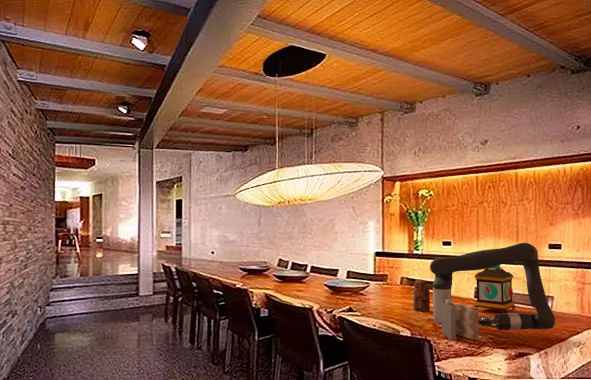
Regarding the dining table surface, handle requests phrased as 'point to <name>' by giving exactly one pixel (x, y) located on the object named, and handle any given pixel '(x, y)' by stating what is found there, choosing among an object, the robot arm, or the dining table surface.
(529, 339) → the dining table surface
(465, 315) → the ash plank
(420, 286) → the wooden figurine
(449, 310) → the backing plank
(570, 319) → the dining table surface
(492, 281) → the decorative lantern
